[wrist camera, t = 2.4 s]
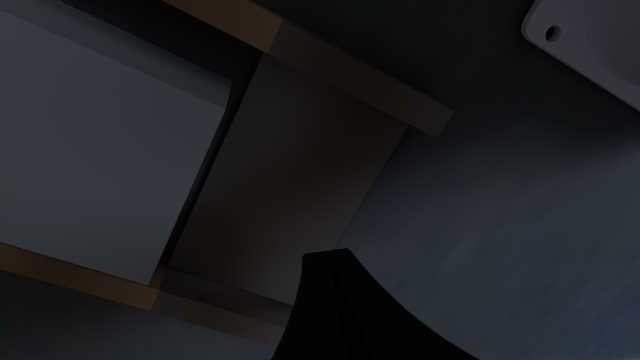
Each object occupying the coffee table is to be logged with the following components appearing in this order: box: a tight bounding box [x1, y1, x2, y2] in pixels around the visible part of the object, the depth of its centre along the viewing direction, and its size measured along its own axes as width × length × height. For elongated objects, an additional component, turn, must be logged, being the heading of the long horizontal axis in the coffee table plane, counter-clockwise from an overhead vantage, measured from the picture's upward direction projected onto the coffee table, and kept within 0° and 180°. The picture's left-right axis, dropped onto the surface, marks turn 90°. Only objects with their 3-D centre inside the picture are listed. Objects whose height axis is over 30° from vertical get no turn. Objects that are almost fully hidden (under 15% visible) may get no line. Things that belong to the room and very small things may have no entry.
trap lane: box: [0, 0, 455, 347], centre depth 13 cm, size 21×11×2 cm, turn 62°
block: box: [0, 0, 232, 286], centre depth 13 cm, size 6×6×4 cm
